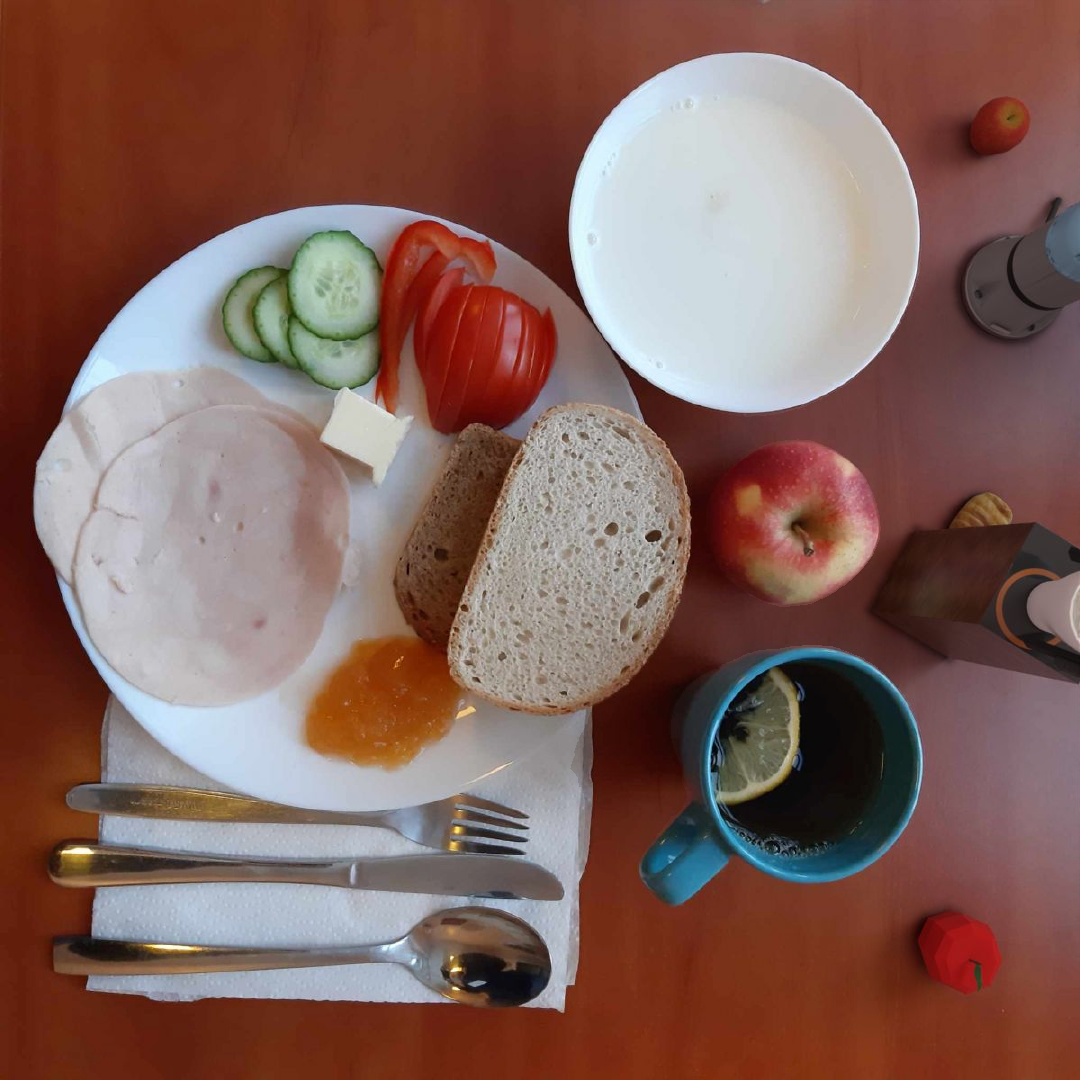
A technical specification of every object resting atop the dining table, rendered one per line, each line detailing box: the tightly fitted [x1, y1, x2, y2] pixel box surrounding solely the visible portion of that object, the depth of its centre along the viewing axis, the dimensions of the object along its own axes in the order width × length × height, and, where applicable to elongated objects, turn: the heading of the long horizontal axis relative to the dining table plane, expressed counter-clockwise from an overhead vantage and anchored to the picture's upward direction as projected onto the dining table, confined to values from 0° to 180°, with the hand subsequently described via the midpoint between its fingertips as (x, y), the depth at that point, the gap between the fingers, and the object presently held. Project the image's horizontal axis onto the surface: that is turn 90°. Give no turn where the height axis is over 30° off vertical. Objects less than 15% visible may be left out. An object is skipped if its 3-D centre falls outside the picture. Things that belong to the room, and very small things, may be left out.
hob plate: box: [979, 521, 1080, 686], centre depth 101 cm, size 14×14×1 cm
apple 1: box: [917, 909, 1003, 995], centre depth 122 cm, size 11×11×10 cm
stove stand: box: [871, 521, 1077, 685], centre depth 115 cm, size 14×14×28 cm
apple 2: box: [969, 95, 1031, 156], centre depth 127 cm, size 8×8×8 cm
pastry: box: [948, 491, 1013, 529], centre depth 127 cm, size 9×7×4 cm
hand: (1048, 597), depth 95 cm, fingers closed on cup, 10 cm apart
